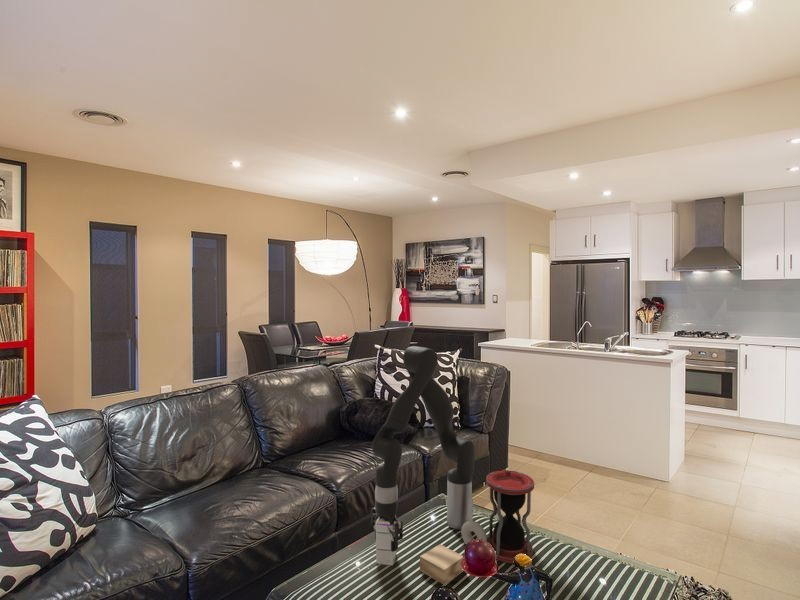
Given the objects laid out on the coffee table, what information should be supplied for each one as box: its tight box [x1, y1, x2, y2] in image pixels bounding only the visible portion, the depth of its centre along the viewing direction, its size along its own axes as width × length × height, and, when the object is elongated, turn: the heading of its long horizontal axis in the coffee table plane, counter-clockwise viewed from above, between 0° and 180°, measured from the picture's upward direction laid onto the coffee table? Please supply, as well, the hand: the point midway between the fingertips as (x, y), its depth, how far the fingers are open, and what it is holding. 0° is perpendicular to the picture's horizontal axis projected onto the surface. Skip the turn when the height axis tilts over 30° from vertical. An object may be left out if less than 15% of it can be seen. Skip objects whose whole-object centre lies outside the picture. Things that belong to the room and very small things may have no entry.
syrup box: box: [375, 515, 398, 566], centre depth 159 cm, size 6×6×14 cm
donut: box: [460, 520, 488, 545], centre depth 166 cm, size 10×4×10 cm, turn 47°
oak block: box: [419, 543, 464, 586], centre depth 154 cm, size 10×10×5 cm
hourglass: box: [485, 470, 535, 564], centre depth 165 cm, size 16×16×25 cm
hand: (386, 545), depth 159 cm, fingers closed on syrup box, 7 cm apart
